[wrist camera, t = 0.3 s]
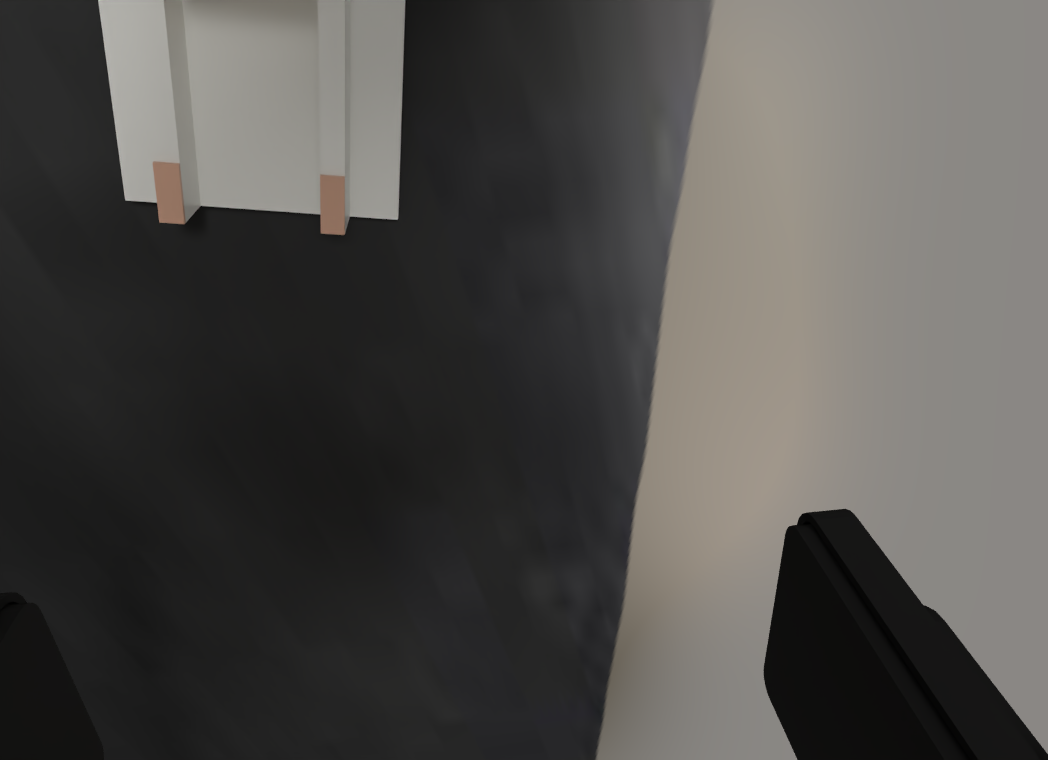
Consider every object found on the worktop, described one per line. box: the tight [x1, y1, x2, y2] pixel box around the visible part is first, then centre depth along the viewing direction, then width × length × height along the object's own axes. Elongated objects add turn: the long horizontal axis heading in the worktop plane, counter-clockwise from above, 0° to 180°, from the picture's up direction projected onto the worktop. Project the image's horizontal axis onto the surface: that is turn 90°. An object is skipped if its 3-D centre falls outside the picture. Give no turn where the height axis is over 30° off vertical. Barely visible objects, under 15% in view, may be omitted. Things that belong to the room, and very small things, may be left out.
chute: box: [98, 0, 405, 235], centre depth 31 cm, size 17×12×4 cm
